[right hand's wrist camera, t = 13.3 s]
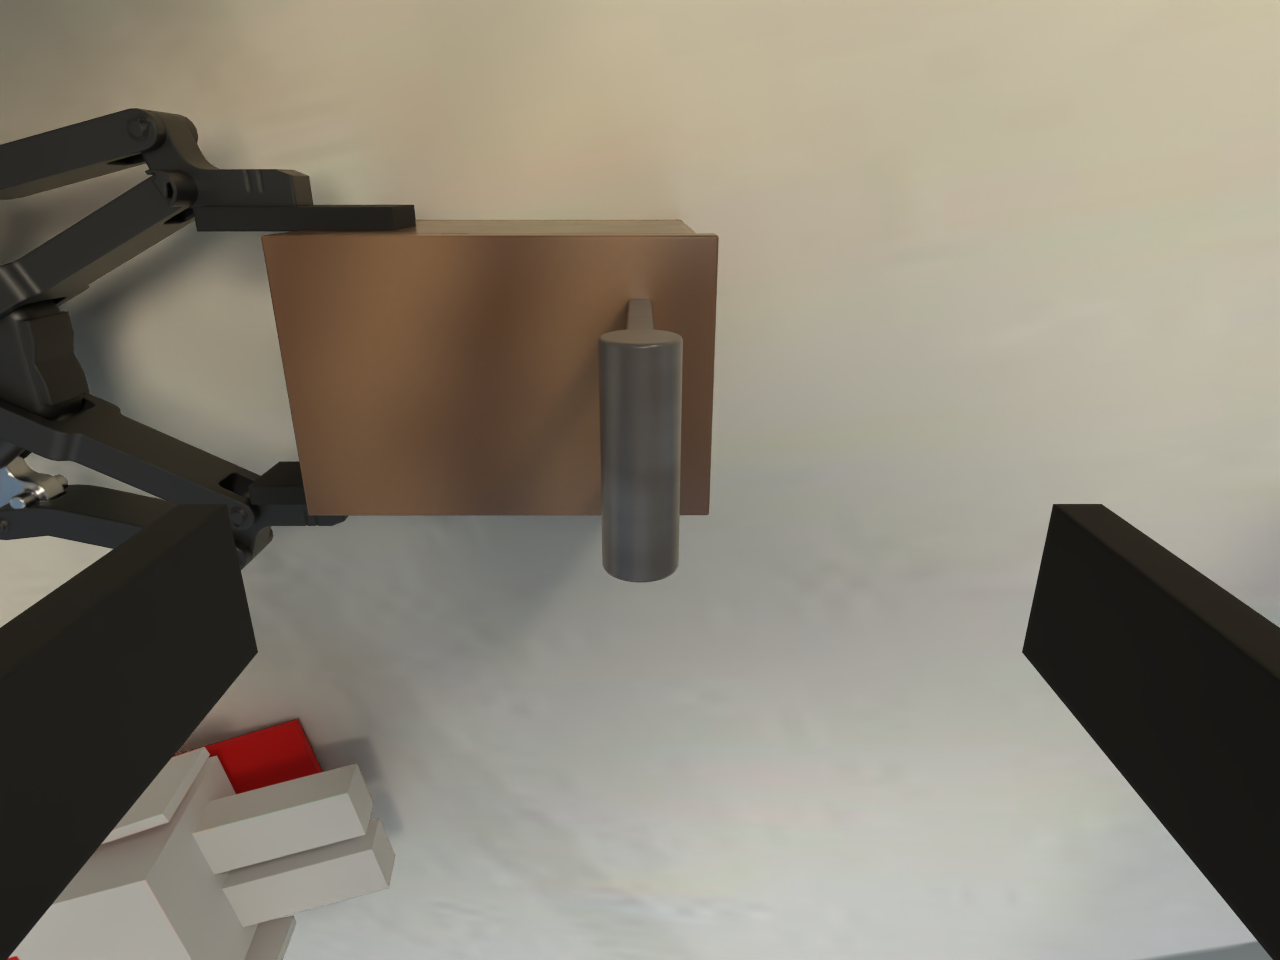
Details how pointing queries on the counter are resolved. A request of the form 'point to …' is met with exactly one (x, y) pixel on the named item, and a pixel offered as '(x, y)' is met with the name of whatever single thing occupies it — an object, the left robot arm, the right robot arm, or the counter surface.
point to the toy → (221, 858)
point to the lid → (504, 378)
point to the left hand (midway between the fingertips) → (418, 358)
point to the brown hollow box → (528, 227)
